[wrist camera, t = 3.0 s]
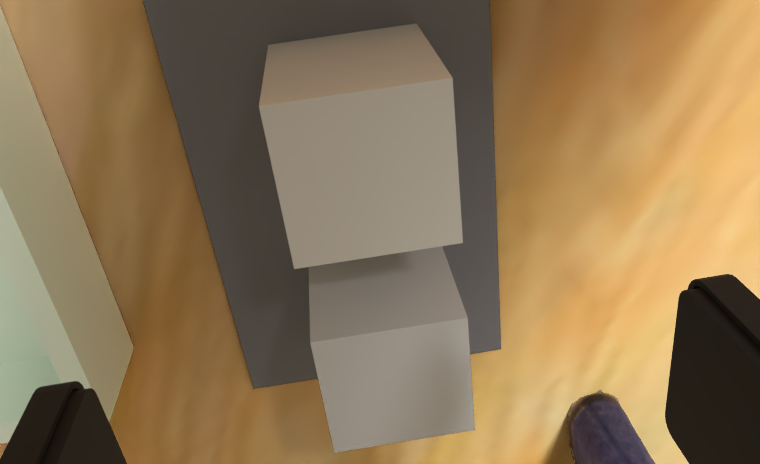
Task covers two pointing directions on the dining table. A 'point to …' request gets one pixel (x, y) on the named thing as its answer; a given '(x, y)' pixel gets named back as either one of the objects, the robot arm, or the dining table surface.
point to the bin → (47, 265)
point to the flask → (603, 433)
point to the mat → (254, 170)
